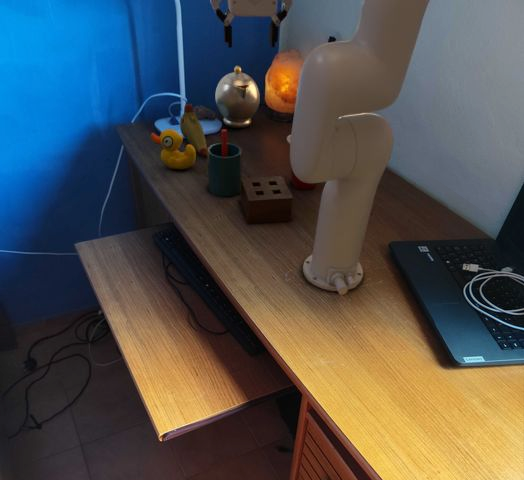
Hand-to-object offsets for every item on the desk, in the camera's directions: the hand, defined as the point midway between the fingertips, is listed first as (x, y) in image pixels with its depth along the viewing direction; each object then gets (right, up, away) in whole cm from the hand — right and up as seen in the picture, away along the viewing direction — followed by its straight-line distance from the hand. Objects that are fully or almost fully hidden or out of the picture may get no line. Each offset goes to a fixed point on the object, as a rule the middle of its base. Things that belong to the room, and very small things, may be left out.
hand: (250, 45), depth 103 cm
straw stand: (+3, -33, +11) cm, 35 cm away
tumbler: (-7, -26, +17) cm, 32 cm away
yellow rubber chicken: (-17, -8, +33) cm, 38 cm away
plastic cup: (+13, -23, +21) cm, 34 cm away
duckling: (-21, -18, +24) cm, 36 cm away
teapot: (-6, +6, +47) cm, 47 cm away
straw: (-7, -25, +17) cm, 31 cm away
